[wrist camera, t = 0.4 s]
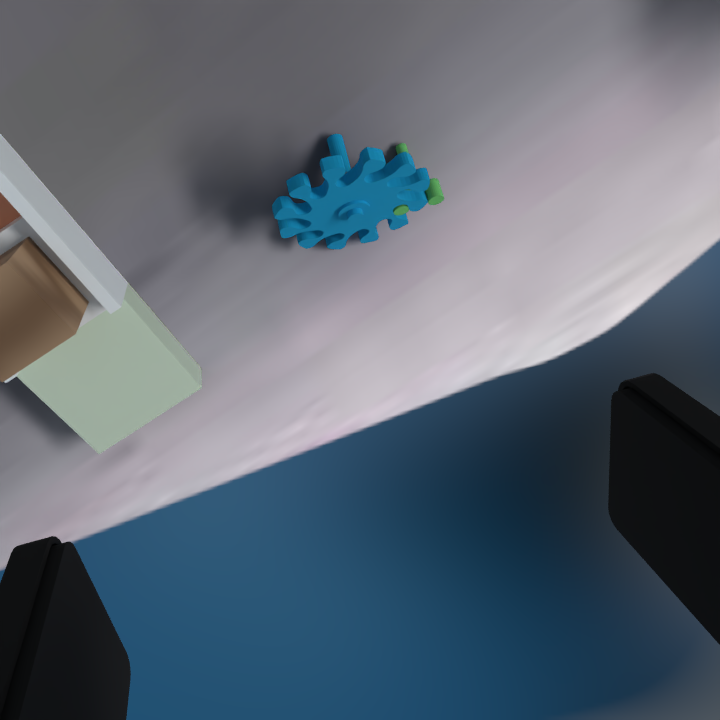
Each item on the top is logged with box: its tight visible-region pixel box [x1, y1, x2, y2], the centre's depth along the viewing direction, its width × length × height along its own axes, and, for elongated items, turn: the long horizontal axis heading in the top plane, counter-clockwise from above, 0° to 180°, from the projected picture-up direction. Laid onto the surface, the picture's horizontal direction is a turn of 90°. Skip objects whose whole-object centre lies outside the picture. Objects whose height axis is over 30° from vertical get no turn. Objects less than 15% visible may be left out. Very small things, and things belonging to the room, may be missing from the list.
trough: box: [0, 134, 202, 454], centre depth 38 cm, size 26×9×4 cm, turn 30°
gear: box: [272, 134, 444, 249], centre depth 41 cm, size 11×6×10 cm
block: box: [0, 237, 89, 382], centre depth 36 cm, size 5×5×5 cm
